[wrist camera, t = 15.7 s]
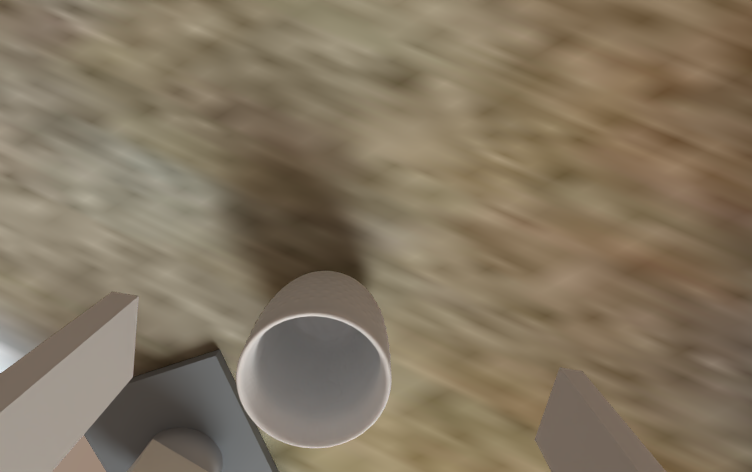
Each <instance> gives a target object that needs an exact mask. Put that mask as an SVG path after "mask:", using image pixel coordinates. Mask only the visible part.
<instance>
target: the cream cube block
mask: <svg viewBox="0 0 752 472" xmlns="http://www.w3.org/2000/svg"><path fill="white" fill-rule="evenodd" d="M127 472H208V471H206V470H205V469H203V468H201V467H200V466H198V465H196V464H194V463H193V462H191V461H189V460H188V459H186V458H184V457H183V456H181V455H179V454H178V453H176V452H174V451H172V450H171V449H169V448H167V447H166V446H164V445H162V444H161V443H159V442H157V441H156V440H154V439H152V441H151V442H150V443H149V444H148V446H147V447H146V448H145V449H144V451H143V452H142V453H141V454H140V456H139V457H138V458H137V459H136V461H135V462H134V463H133V464H132V466H131V467H130V468H129V469H128V471H127Z"/></svg>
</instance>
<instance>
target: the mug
mask: <svg viewBox="0 0 752 472" xmlns="http://www.w3.org/2000/svg"><path fill="white" fill-rule="evenodd" d="M391 378H392V377H391V363H390V352H389V342H388V335H387V332H386V326H385V324H384V318H383V316H382V314H381V310H380V308H379V307H378V304H377V302H376V301H375V300H374V297H373V296H372V295H371V294H370V293H369V291H368V290H367V288H365V287H364V286H363V285H362V284H361V283H359V282H358V281H357V280H356V279H354V278H352V277H350V276H348V275H345V274H343V273H340V272H335V271H316V272H310V273H308V274H305V275H302V276H300V277H298V278H296V279H294V280H293V281H291V282H290V283H288V284H287V285H286V286H285V287H283V288H282V289H281V290H280V291H279V292H277V293H276V295H275V296H274V298H272V299H271V300H270V302H269V304H268V305H267V306H266V307H265V308H264V311H263V312H262V313H261V314H260V317H259V319H258V320H257V322H256V323H255V327H254V328H253V329H252V331H251V334H250V336H249V338H248V339H247V341H246V344H245V346H244V348H243V350H242V353H241V355H240V358H239V361H238V365H237V372H236V385H237V391H238V395H239V398H240V401H241V403H242V405H243V407H244V409H245V411H246V412H247V414H248V415H249V417H250V418H251V419H252V421H253V422H254V423H255V424H256V425H257V426H258V427H259V428H260V429H262V430H263V431H264V432H266V433H267V434H268V435H270V436H271V437H273V438H275V439H277V440H279V441H282V442H284V443H286V444H290V445H293V446H298V447H304V448H326V447H331V446H336V445H339V444H343V443H345V442H348V441H350V440H352V439H354V438H356V437H358V436H359V435H361V434H362V433H364V432H365V431H366V430H367V429H368V428H370V427H371V426H372V425H373V424H374V423H375V422H376V420H377V419H378V418H379V416H380V415H381V413H382V412H383V410H384V408H385V406H386V404H387V401H388V398H389V394H390V389H391Z"/></svg>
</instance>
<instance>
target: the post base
mask: <svg viewBox="0 0 752 472" xmlns="http://www.w3.org/2000/svg"><path fill="white" fill-rule="evenodd" d="M84 436H85V437H86V439H87V441H88V442H89V444H90V445H91V447H92V449H93V450H94V452H95V454H96V455H97V457H98V459H99V460H100V462H101V463H102V465H103V467H104V468H105V470H106V472H127V471H128V469H129V468H130V467H131V466H132V464H133V463H134V462H135V461H136V459H137V458H138V457H139V456H140V454H141V453H142V452H143V451H144V449H145V448H146V447H147V446H148V444H149V443H150V442H151V441H152V439H154V440H156V441H157V442H159V443H161V444H162V445H164V446H166V447H167V448H169V449H171V450H172V451H174V452H176V453H178V454H179V455H181V456H183V457H184V458H186V459H188V460H189V461H191V462H193V463H194V464H196V465H198V466H200V467H201V468H203V469H205V470H206V471H208V472H278V470H277V468H276V466H275V463H274V461H273V459H272V457H271V455H270V453H269V451H268V449H267V447H266V445H265V443H264V441H263V439H262V437H261V434H260V432H259V430H258V428H257V426H256V424H255V423H254V422H253V421H252V419H251V418H250V417H249V415H248V414H247V412H246V411H245V409H244V407H243V405H242V403H241V401H240V398H239V395H238V391H237V385H236V383H235V381H234V379H233V376H232V374H231V372H230V370H229V368H228V366H227V364H226V362H225V360H224V358H223V356H222V354H221V352H220V350H216V351H213V352H210V353H207V354H204V355H201V356H197V357H194V358H191V359H188V360H185V361H182V362H179V363H176V364H173V365H170V366H167V367H163V368H160V369H157V370H154V371H151V372H148V373H145V374H142V375H139V376H136V377H132V379H131V380H130V381H129V382H128V383H127V385H126V386H125V387H124V388H123V389H122V390H121V392H120V393H119V394H118V395H117V396H116V397H115V399H114V400H113V401H112V402H111V403H110V404H109V406H108V407H107V408H106V409H105V410H104V412H103V413H102V414H101V415H100V416H99V417H98V419H97V420H96V421H95V422H94V423H93V424H92V426H91V427H90V428H89V429H88V430H87V431H86V433H85V434H84Z"/></svg>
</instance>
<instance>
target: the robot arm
mask: <svg viewBox="0 0 752 472" xmlns="http://www.w3.org/2000/svg"><path fill="white" fill-rule="evenodd" d="M138 299H139V296H135V295H129V294H123V293H117V292H111V293H110V294H108V295H107V296H105V297H104V298H103V299H101V300H100V301H99V302H97V303H96V304H95V305H93V306H92V307H91V308H89V309H88V310H86V311H85V312H84V313H82V314H81V315H80V316H78V317H77V318H76V319H74V320H73V321H71V322H70V323H69V324H67V325H66V326H65V327H63V328H62V329H61V330H59V331H58V332H57V333H55V334H54V335H52V336H51V337H50V338H48V339H47V340H46V341H44V342H43V343H42V344H40V345H39V346H37V347H36V348H35V349H33V350H32V351H31V352H29V353H28V354H27V355H25V356H24V357H23V358H21V359H20V360H18V361H17V362H16V363H14V364H13V365H12V366H10V367H9V368H8V369H6V370H5V371H3V372H2V373H0V472H52V471H53V470H54V469H55V468H56V467H57V465H58V464H59V463H60V462H61V461H62V460H63V458H64V457H65V456H66V455H67V454H68V453H69V451H70V450H71V449H72V448H73V447H74V445H75V444H76V443H77V442H78V441H79V440H80V438H81V437H82V436H83V435H84V434H85V433H86V431H87V430H88V429H89V428H90V427H91V426H92V424H93V423H94V422H95V421H96V420H97V419H98V417H99V416H100V415H101V414H102V413H103V412H104V410H105V409H106V408H107V407H108V406H109V404H110V403H111V402H112V401H113V400H114V399H115V397H116V396H117V395H118V394H119V393H120V392H121V390H122V389H123V388H124V387H125V386H126V385H127V383H128V382H129V381H130V380H131V379H132V377H133V370H134V355H135V341H136V327H137V313H138ZM535 441H536V442H537V444H538V446H539V448H540V450H541V452H542V454H543V456H544V458H545V460H546V462H547V464H548V466H549V468H550V469H551V471H552V472H666V471H665V470H664V469H663V467H662V466H661V465H660V464H659V463H658V461H657V460H656V459H655V458H654V457H653V455H652V454H651V453H650V452H649V451H648V449H647V448H646V447H645V446H644V445H643V443H642V442H641V441H640V440H639V438H638V437H637V436H636V435H635V434H634V432H633V431H632V430H631V429H630V428H629V426H628V425H627V424H626V423H625V422H624V420H623V419H622V418H621V417H620V416H619V414H618V413H617V412H616V411H615V410H614V408H613V407H612V406H611V405H610V404H609V402H608V401H607V400H606V399H605V398H604V396H603V395H602V394H601V393H600V392H599V390H598V389H597V388H596V387H595V386H594V384H593V383H592V382H591V381H590V380H589V378H588V377H587V376H586V375H585V374H584V372H583V371H578V370H572V369H566V368H561V367H560V368H559V371H558V374H557V377H556V380H555V383H554V386H553V388H552V391H551V394H550V397H549V400H548V403H547V406H546V409H545V412H544V415H543V417H542V420H541V423H540V426H539V429H538V432H537V435H536V438H535Z"/></svg>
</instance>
